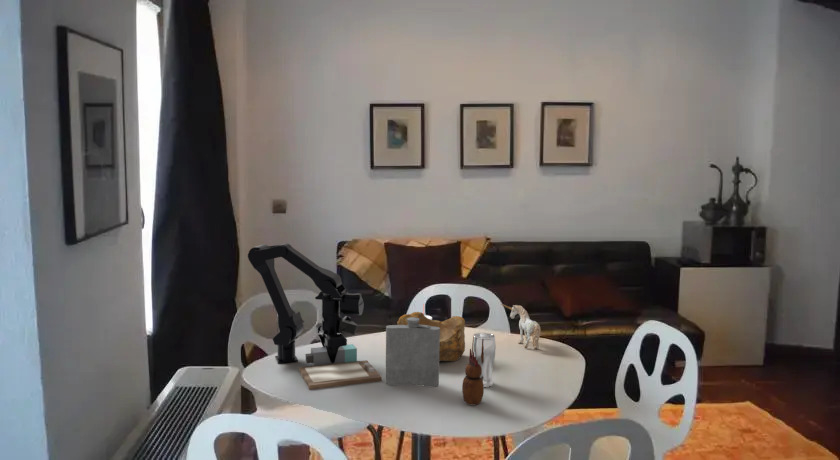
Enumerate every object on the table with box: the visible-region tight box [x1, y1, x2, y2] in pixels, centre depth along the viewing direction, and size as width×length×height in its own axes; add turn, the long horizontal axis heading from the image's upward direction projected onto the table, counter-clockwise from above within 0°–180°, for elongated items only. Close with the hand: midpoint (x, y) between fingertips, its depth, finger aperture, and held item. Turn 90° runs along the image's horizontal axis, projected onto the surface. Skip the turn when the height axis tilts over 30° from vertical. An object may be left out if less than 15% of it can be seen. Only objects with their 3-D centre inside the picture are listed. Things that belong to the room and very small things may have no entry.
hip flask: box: [385, 317, 440, 387], centre depth 197 cm, size 16×4×20 cm, turn 86°
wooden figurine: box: [461, 348, 485, 406], centre depth 183 cm, size 7×6×15 cm
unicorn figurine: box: [500, 303, 541, 350], centre depth 237 cm, size 7×20×13 cm, turn 34°
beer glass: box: [471, 332, 497, 388], centre depth 198 cm, size 7×7×15 cm
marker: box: [305, 343, 358, 366], centre depth 214 cm, size 5×16×5 cm, turn 111°
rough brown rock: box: [396, 311, 466, 362], centre depth 218 cm, size 23×17×15 cm
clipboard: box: [298, 360, 383, 390], centre depth 203 cm, size 16×22×2 cm
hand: (330, 359), depth 215 cm, fingers closed on marker, 5 cm apart
